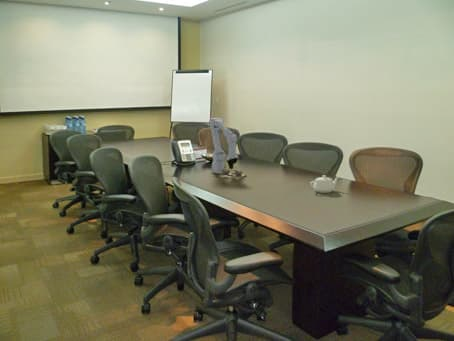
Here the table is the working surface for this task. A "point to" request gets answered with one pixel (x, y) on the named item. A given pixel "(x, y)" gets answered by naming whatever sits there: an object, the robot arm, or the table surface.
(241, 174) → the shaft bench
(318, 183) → the teapot
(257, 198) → the table surface
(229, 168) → the coupler
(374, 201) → the table surface
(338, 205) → the table surface
